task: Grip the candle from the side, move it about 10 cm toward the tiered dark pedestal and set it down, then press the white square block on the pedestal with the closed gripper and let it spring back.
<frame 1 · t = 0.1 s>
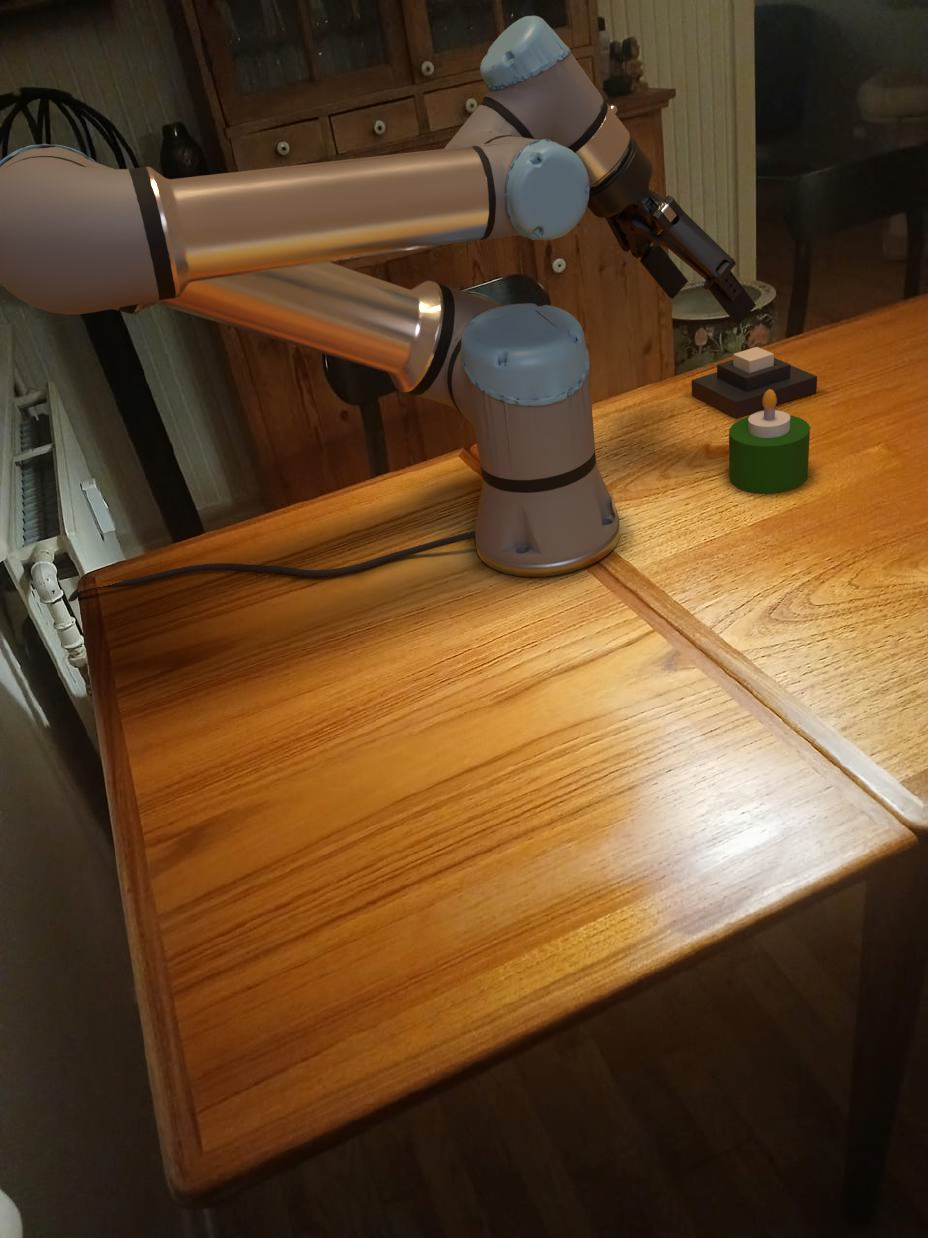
hand: (710, 301, 109), 15 cm above the table, tool tilted 35°, fingers open, 13 cm apart
candle: (767, 477, 105), on the table
tiered dark pedestal: (752, 394, 124), on the table
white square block: (753, 360, 121), point 5 cm above the table, slide at 0.2 cm
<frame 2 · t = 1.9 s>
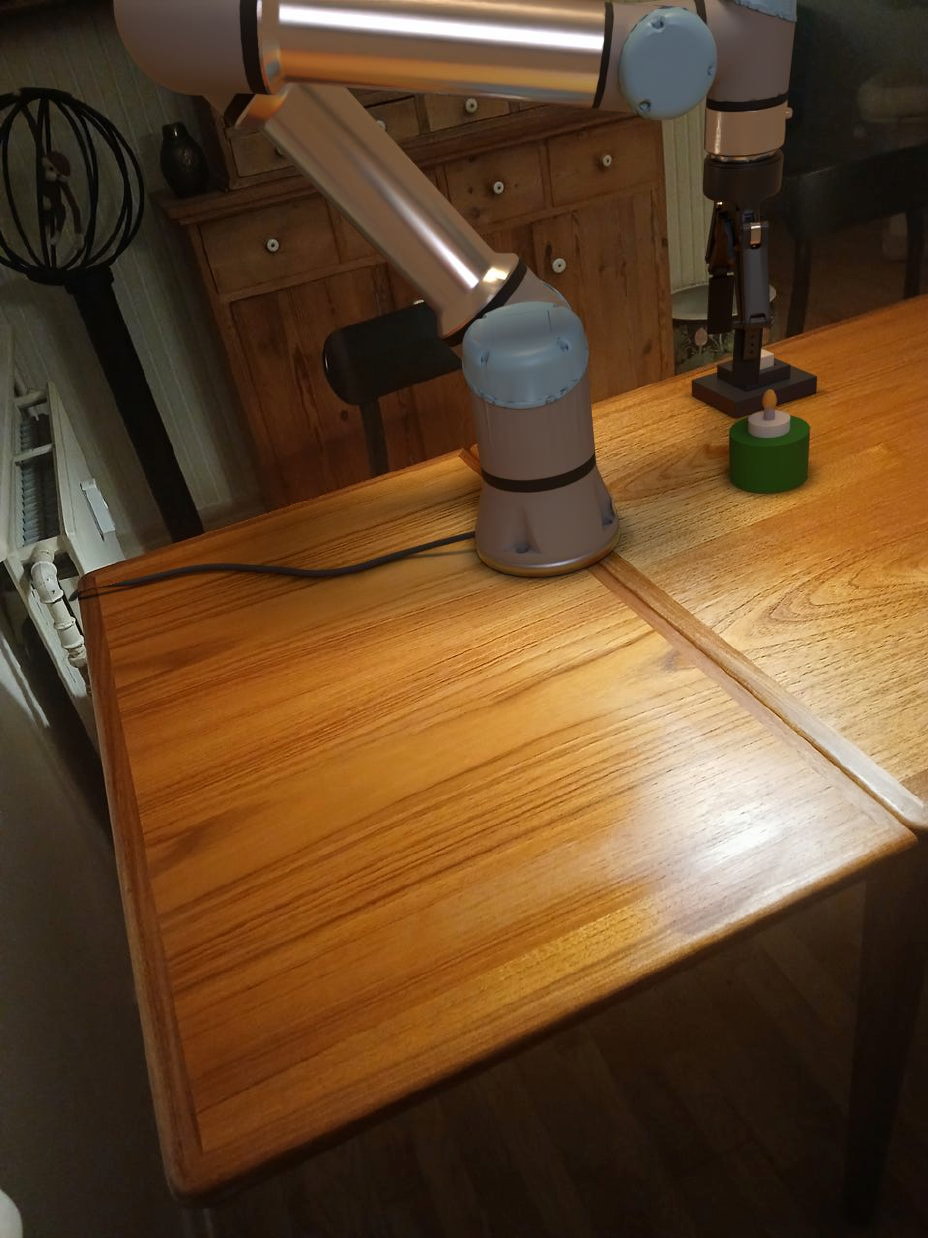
hand: (731, 357, 106), 11 cm above the table, tool pointing down, fingers open, 13 cm apart
nothing on the table moved.
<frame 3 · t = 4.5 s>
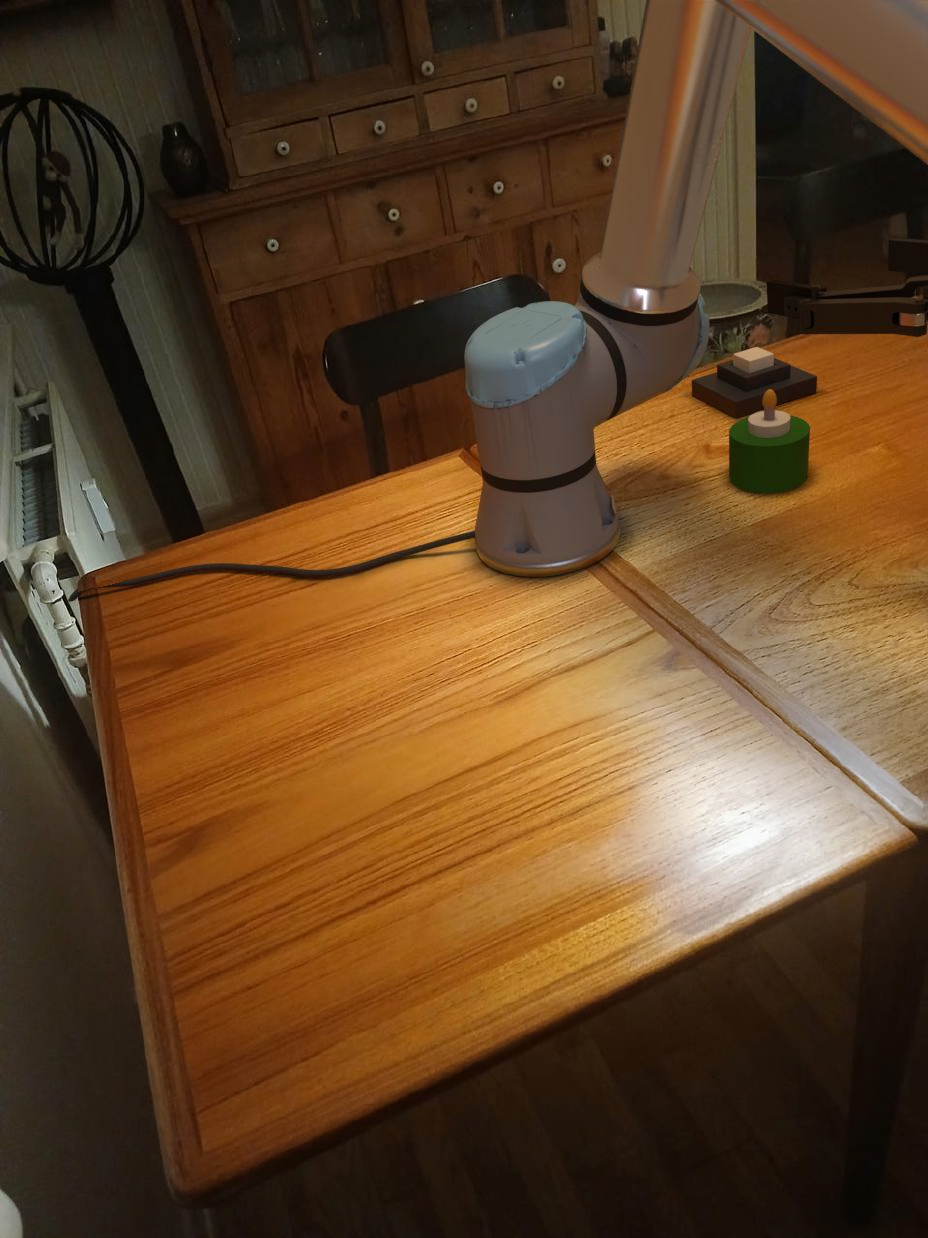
hand: (831, 274, 85), 23 cm above the table, tool horizontal, fingers open, 13 cm apart
nothing on the table moved.
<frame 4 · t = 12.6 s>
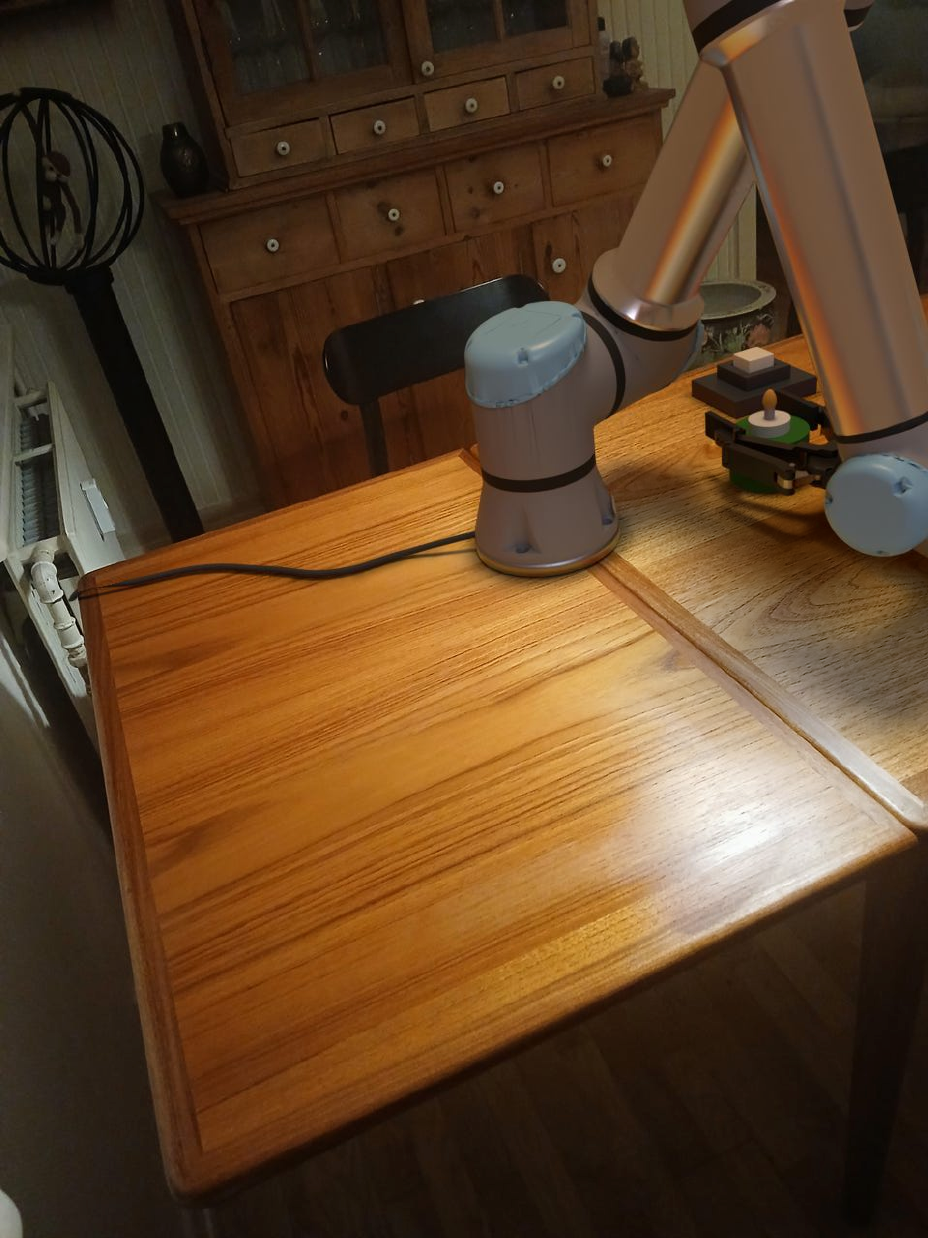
hand: (743, 411, 105), 6 cm above the table, tool horizontal, fingers closed on candle, 8 cm apart
candle: (768, 477, 105), on the table, touching gripper
everything else where it was.
when the fingers open (6 cm above the table, at t = 20.1 s): candle stays where it is, on the table.
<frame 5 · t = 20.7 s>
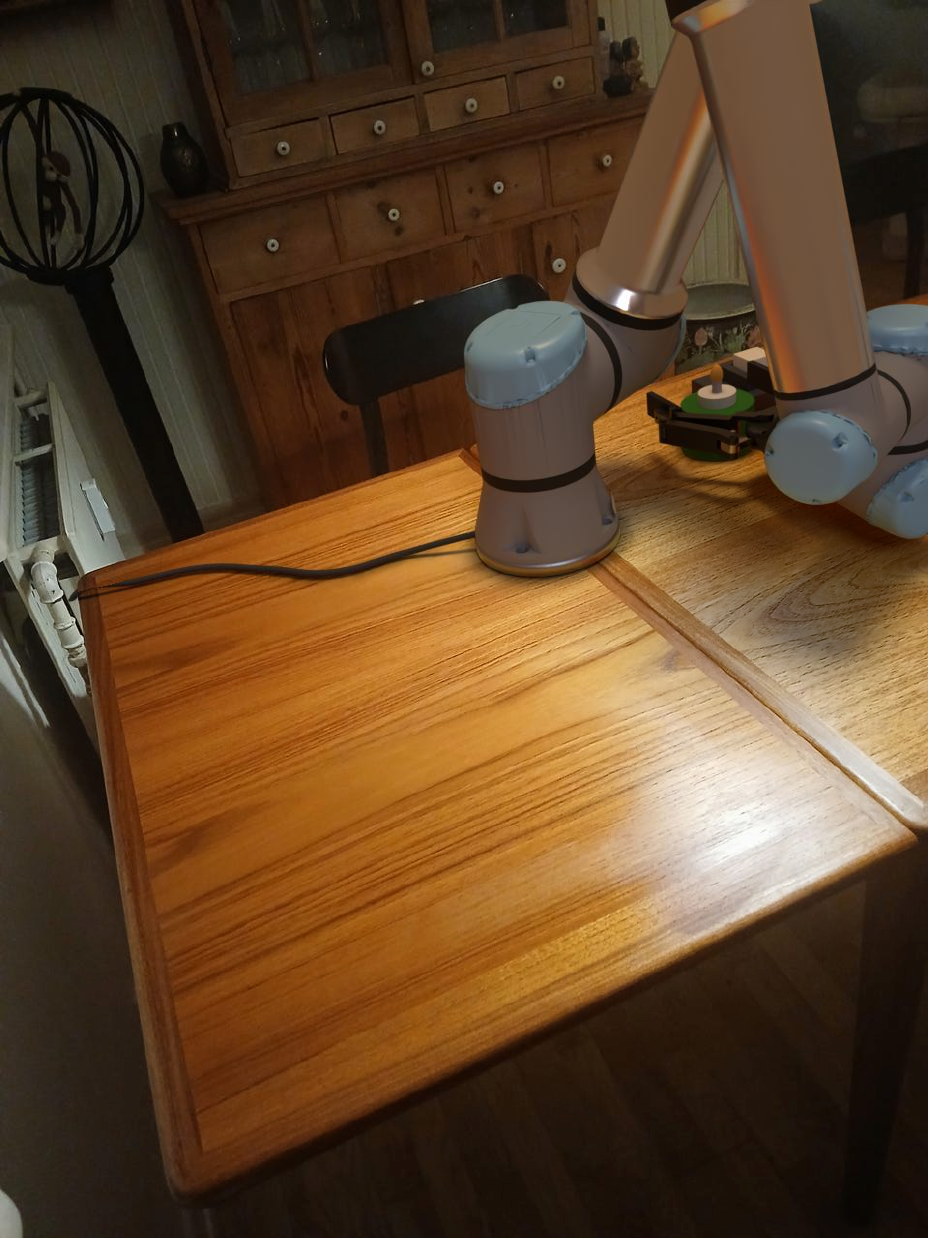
hand: (700, 386, 112), 6 cm above the table, tool horizontal, fingers open, 13 cm apart
candle: (717, 447, 113), on the table
everything else where it was.
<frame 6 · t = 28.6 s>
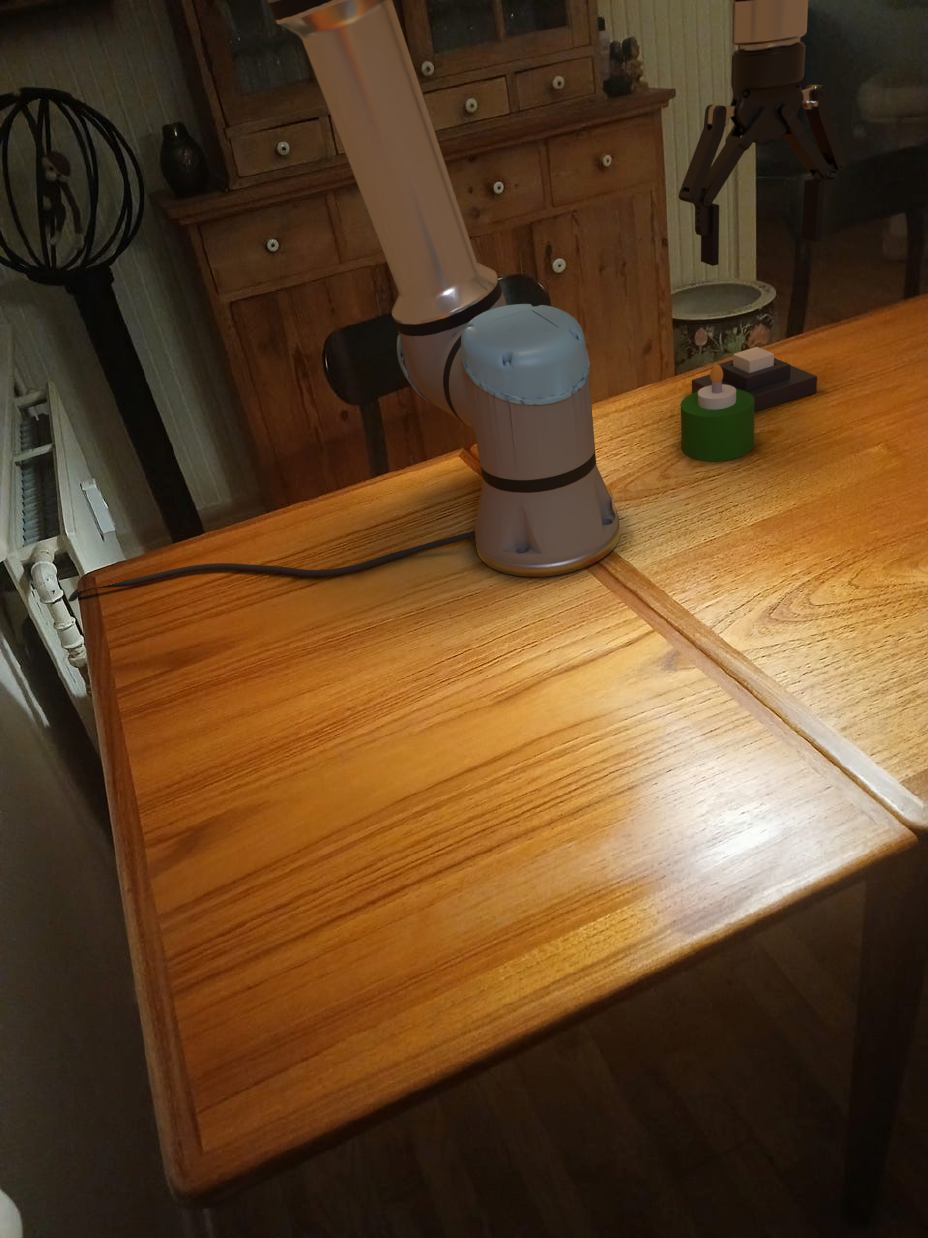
hand: (760, 251, 113), 18 cm above the table, tool pointing down, fingers open, 13 cm apart
nothing on the table moved.
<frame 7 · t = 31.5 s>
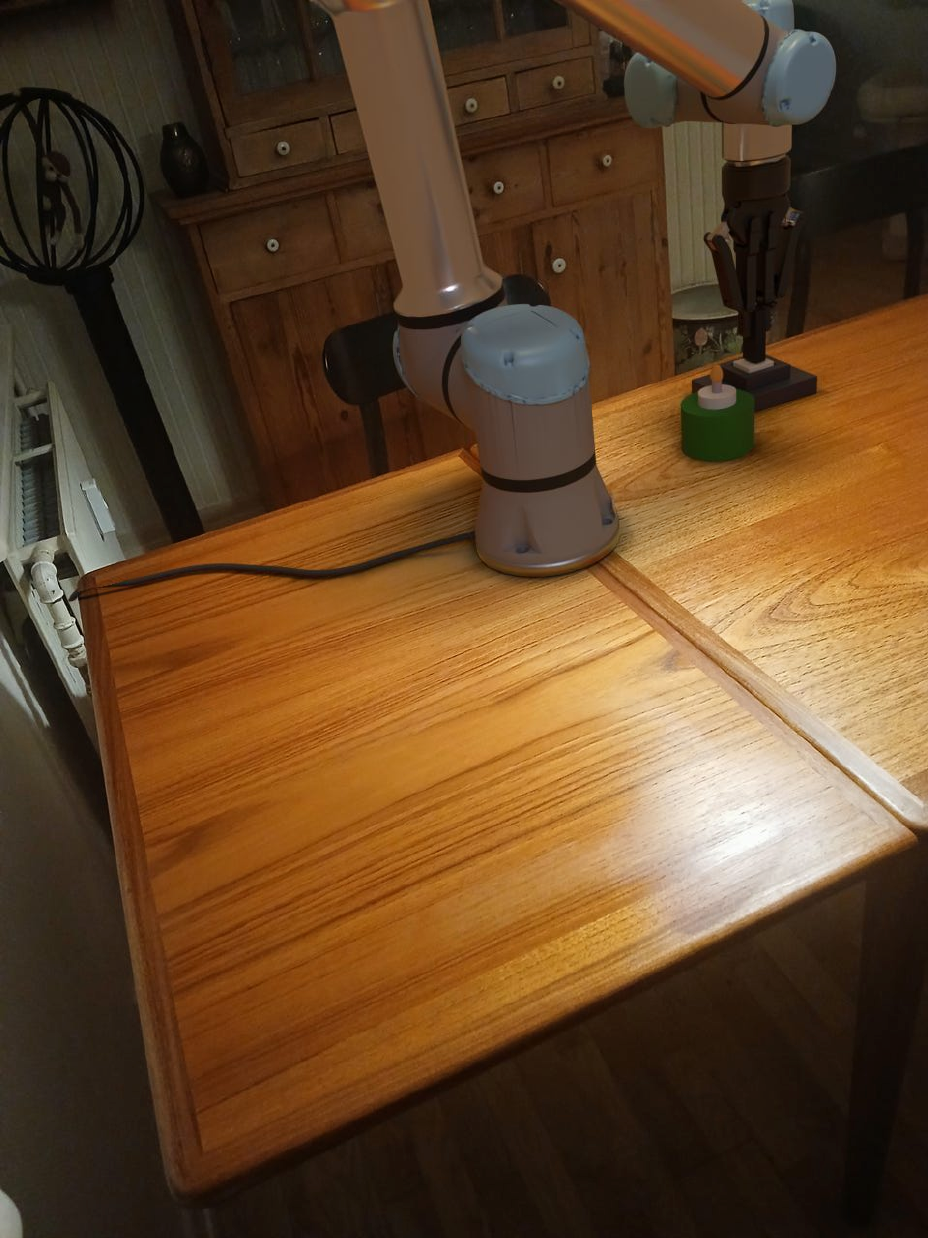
hand: (754, 358, 121), 5 cm above the table, tool pointing down, fingers closed
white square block: (753, 367, 122), point 4 cm above the table, slide at -0.8 cm, touching gripper
everything else where it was.
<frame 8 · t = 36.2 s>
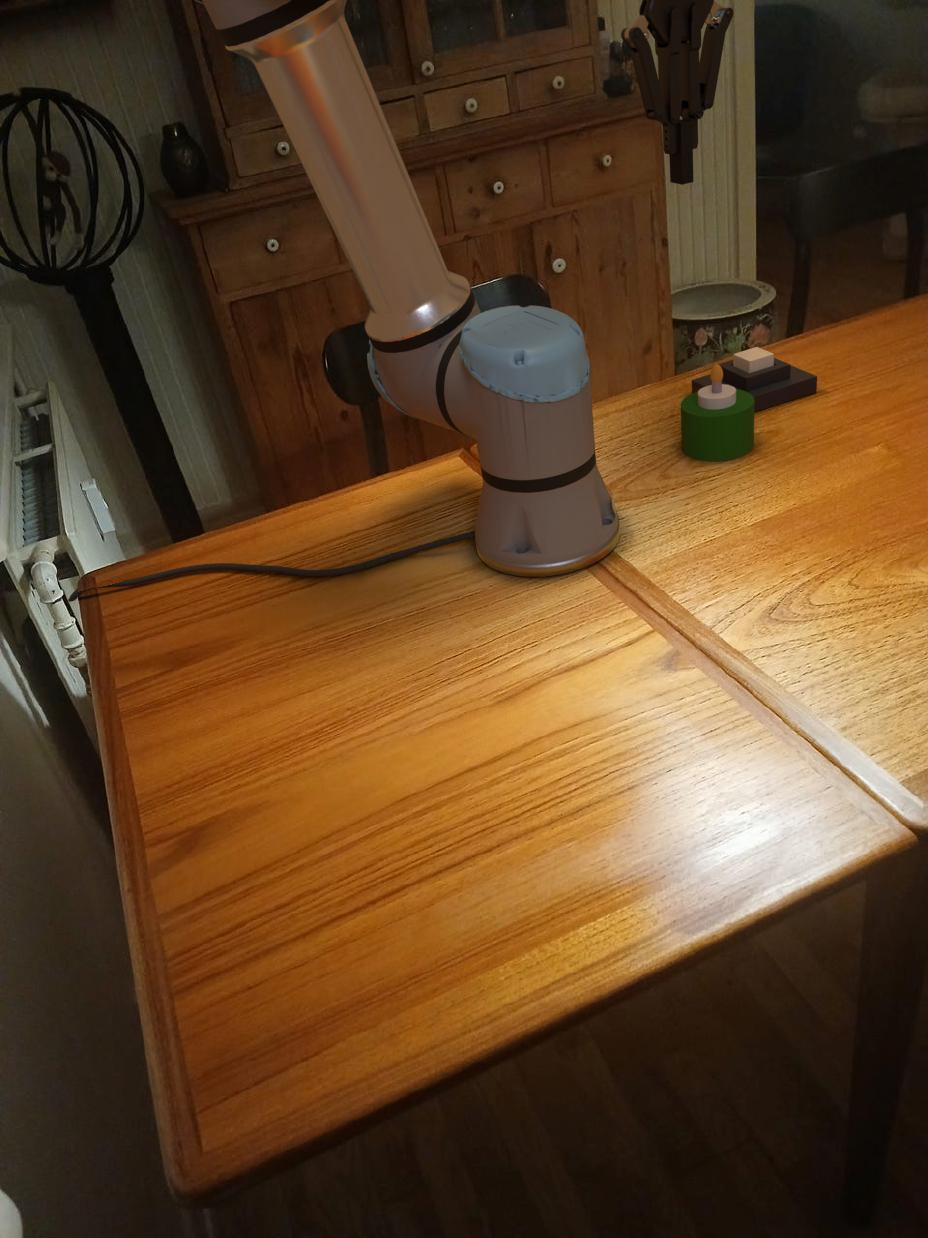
hand: (681, 181, 112), 26 cm above the table, tool pointing down, fingers closed
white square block: (753, 360, 121), point 5 cm above the table, slide at 0.1 cm
everything else where it was.
at the end: candle inside the target area (0.1 cm from its centre), on the table; candle tilted 0°; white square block pushed in 1.0 cm at the most during the clip, back to where it started at the end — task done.
